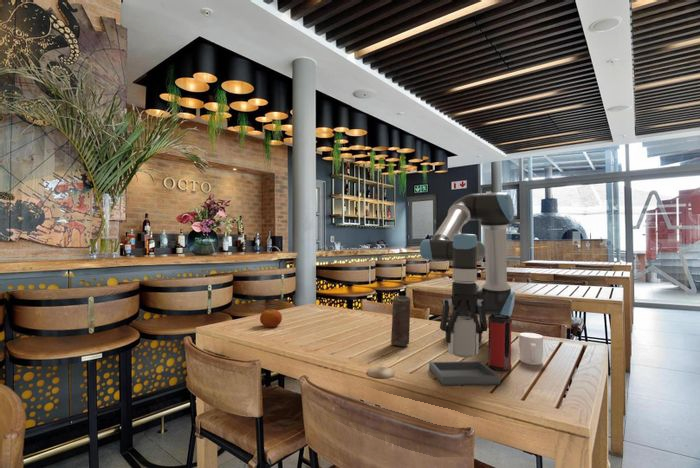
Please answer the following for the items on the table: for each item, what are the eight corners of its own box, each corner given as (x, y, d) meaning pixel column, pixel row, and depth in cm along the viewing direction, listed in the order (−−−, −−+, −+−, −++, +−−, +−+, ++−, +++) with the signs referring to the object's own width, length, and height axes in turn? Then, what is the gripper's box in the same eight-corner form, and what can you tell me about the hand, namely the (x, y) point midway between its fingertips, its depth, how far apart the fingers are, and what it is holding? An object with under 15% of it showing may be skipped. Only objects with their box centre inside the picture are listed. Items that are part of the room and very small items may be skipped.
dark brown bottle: (411, 344, 157) (412, 296, 157) (406, 349, 150) (407, 299, 150) (394, 342, 160) (395, 295, 160) (388, 346, 153) (389, 297, 154)
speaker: (499, 372, 125) (500, 318, 125) (482, 365, 132) (483, 314, 133) (516, 370, 128) (517, 317, 129) (499, 362, 135) (499, 312, 136)
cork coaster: (391, 368, 128) (391, 366, 128) (397, 378, 119) (397, 376, 119) (365, 368, 127) (365, 366, 127) (369, 378, 118) (369, 376, 118)
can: (476, 359, 117) (477, 320, 117) (451, 357, 118) (452, 319, 118) (473, 352, 124) (474, 315, 124) (450, 350, 126) (451, 314, 126)
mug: (517, 331, 145) (540, 333, 142) (517, 355, 144) (540, 358, 142) (521, 339, 133) (546, 341, 131) (521, 365, 133) (546, 368, 131)
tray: (480, 368, 129) (480, 361, 129) (500, 385, 115) (500, 376, 115) (429, 369, 128) (429, 361, 128) (442, 385, 114) (442, 377, 114)
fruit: (279, 329, 178) (279, 312, 178) (257, 329, 178) (257, 312, 179) (283, 324, 189) (283, 308, 189) (263, 323, 189) (263, 307, 189)
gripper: (489, 280, 126) (488, 349, 126) (429, 280, 124) (428, 349, 124) (500, 283, 118) (499, 356, 118) (436, 282, 117) (435, 356, 117)
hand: (463, 352), depth 121 cm, fingers closed on can, 7 cm apart
